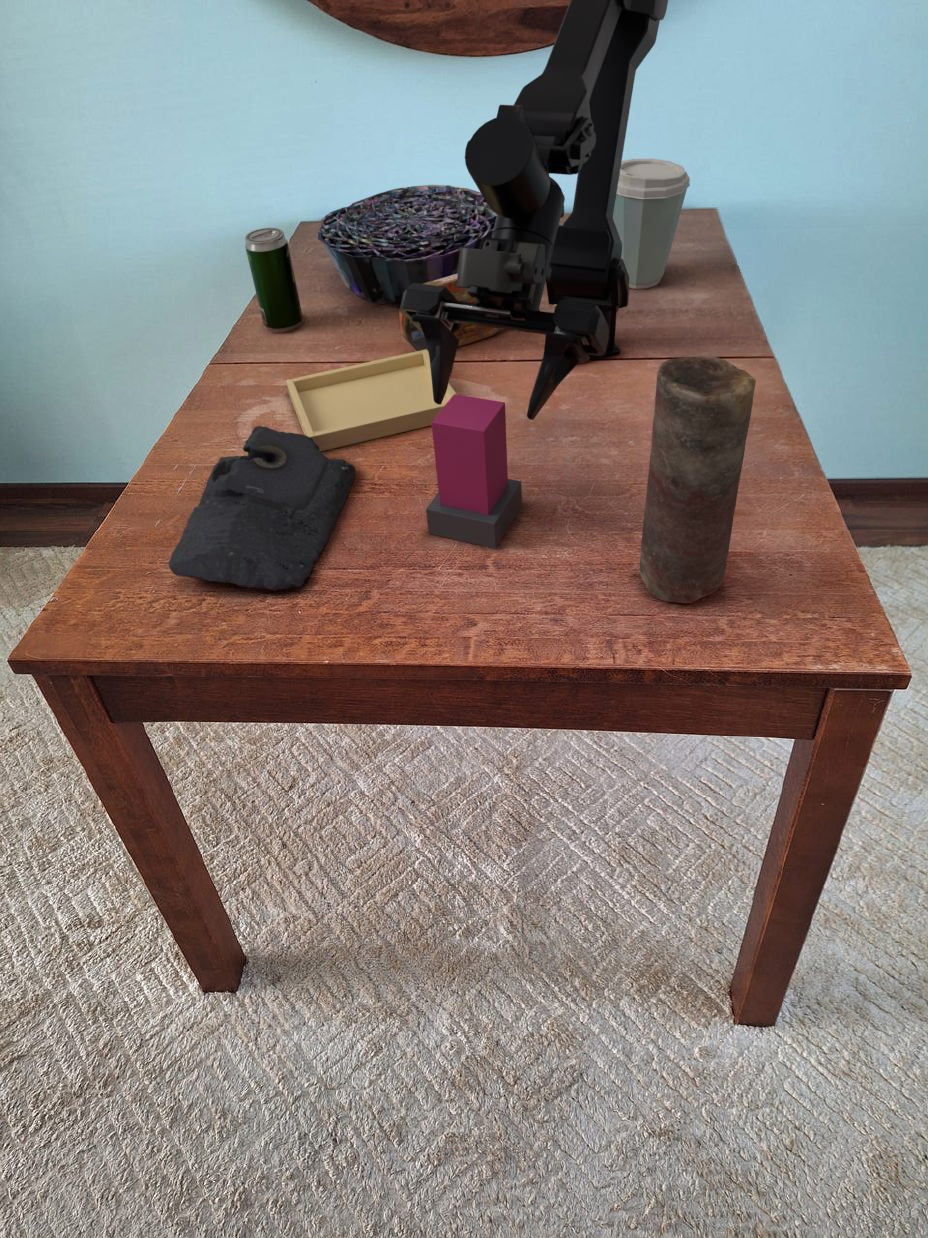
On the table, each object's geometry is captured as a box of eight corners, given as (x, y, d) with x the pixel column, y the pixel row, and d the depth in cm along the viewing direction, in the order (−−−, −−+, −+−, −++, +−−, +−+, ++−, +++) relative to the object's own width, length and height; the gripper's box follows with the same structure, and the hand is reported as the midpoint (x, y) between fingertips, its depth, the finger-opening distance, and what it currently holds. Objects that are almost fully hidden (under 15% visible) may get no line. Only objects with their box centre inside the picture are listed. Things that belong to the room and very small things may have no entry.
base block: (457, 492, 88) (455, 468, 86) (522, 506, 86) (521, 481, 84) (428, 533, 84) (425, 508, 81) (495, 548, 81) (494, 523, 79)
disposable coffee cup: (631, 258, 126) (639, 145, 116) (694, 276, 121) (709, 160, 110) (585, 283, 121) (590, 168, 111) (649, 303, 116) (660, 184, 105)
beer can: (274, 337, 115) (253, 246, 107) (258, 323, 119) (236, 234, 110) (310, 325, 117) (292, 235, 109) (293, 312, 121) (274, 223, 112)
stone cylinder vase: (629, 553, 80) (647, 351, 66) (708, 545, 80) (743, 342, 66) (649, 610, 74) (673, 403, 60) (733, 601, 74) (778, 393, 60)
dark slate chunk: (147, 590, 80) (130, 551, 77) (229, 456, 96) (217, 418, 92) (305, 600, 78) (294, 560, 74) (363, 461, 93) (356, 422, 90)
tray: (428, 364, 108) (426, 348, 106) (463, 417, 98) (461, 401, 97) (289, 395, 104) (285, 379, 103) (311, 453, 95) (307, 437, 93)
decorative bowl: (295, 308, 126) (277, 240, 118) (400, 226, 140) (390, 161, 133) (443, 342, 115) (433, 271, 108) (540, 250, 130) (537, 181, 122)
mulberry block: (460, 475, 85) (454, 393, 79) (508, 484, 83) (505, 402, 77) (439, 504, 82) (431, 421, 75) (488, 515, 80) (484, 431, 74)
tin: (409, 362, 108) (402, 297, 102) (399, 352, 110) (391, 287, 104) (514, 330, 113) (512, 265, 107) (502, 321, 115) (500, 257, 109)
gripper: (396, 190, 74) (355, 369, 75) (607, 207, 68) (560, 401, 69) (441, 248, 85) (404, 404, 85) (627, 267, 79) (586, 435, 79)
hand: (482, 410), depth 79 cm, fingers open, 9 cm apart
